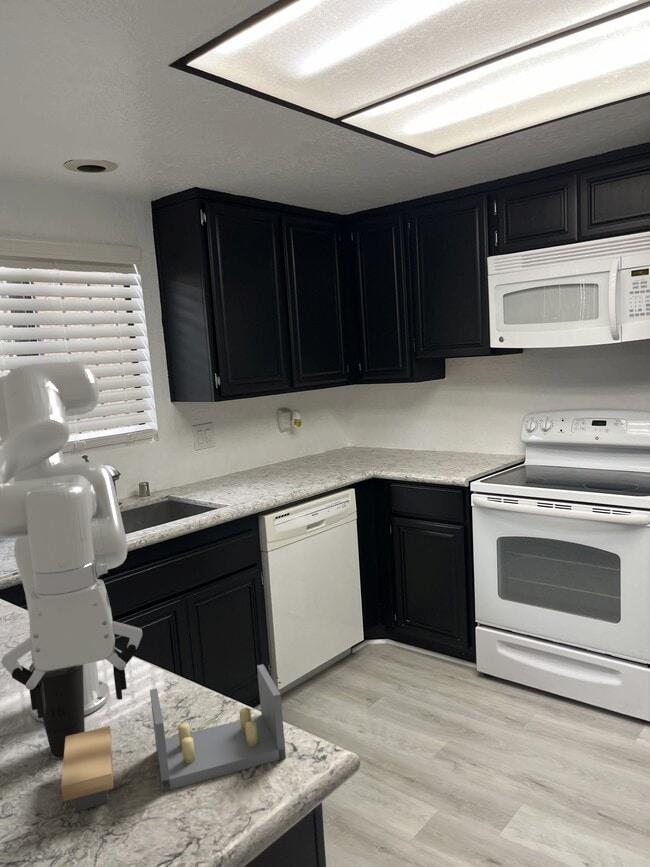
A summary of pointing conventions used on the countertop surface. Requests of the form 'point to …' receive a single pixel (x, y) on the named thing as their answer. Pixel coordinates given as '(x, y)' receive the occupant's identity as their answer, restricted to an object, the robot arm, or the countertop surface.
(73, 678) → the drinking cup
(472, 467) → the countertop surface
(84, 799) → the block
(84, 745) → the shelf board
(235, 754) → the cabinet stand
